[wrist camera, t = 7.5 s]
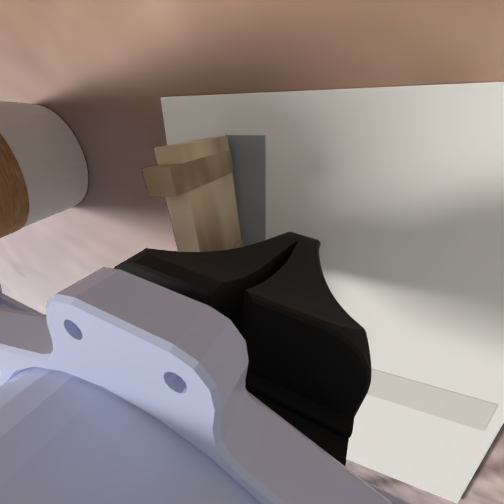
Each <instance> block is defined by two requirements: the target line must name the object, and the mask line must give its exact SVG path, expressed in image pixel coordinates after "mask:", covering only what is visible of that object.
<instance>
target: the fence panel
mask: <svg viewBox="0 0 504 504" xmlns="http://www.w3.org/2000/svg"><path fill="white" fill-rule="evenodd" d="M154 152H155V156H156V160H157V164H158V165H155V166H151V167H147V168H143V169H142V172H143V176H144V180H145V184H146V187H147V191H148V195H149V197H165V198H166V203H167V207H168V211H169V215H170V220H171V224H172V228H173V232H174V237H175V241H176V245H177V249H178V252H208V251H221V250H228V249H234V248H240V247H243V241H242V240H241V233H240V226H239V218H238V211H237V203H236V196H235V189H234V181H233V174H232V173H233V166H232V158H231V151H230V150H229V144H228V137H227V136H222V137H212V138H204V139H199V140H193V141H188V142H182V143H177V144H171V145H166V146H160V147H155V148H154Z"/></svg>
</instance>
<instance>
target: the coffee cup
mask: <svg viewBox="0 0 504 504" xmlns="http://www.w3.org/2000/svg"><path fill="white" fill-rule="evenodd" d="M87 188H88V170H87V164H86V160H85V157H84V154H83V151H82V149H81V147H80V144H79V142H78V140H77V139H76V137H75V135H74V134H73V132H72V131H71V129H70V128H69V127H68V125H67V124H66V123H65V122H64V121H63V120H62V119H61V118H60V117H59V116H58V115H57V114H56V113H54V112H53V111H52V110H50V109H48V108H46V107H43V106H41V105H36V104H28V103H17V102H4V101H0V238H1V237H4V236H6V235H8V234H11V233H13V232H15V231H17V230H19V229H21V228H22V227H25V226H27V225H30V224H32V223H34V222H37V221H39V220H42V219H44V218H47V217H49V216H52V215H54V214H56V213H59V212H61V211H64V210H66V209H69V208H71V207H73V206H75V205H77V204H78V203H80V202H81V201H82V199H83V198H84V197H85V195H86V192H87Z"/></svg>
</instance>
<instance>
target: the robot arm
mask: <svg viewBox="0 0 504 504" xmlns="http://www.w3.org/2000/svg"><path fill="white" fill-rule="evenodd" d="M320 244H321V243H320V241H319V240H317V239H313V238H310V237H307V236H303V235H300V234H297V233H293V232H287V233H284V234H281V235H278V236H276V237H273V238H270V239H267V240H265V241H262V242H258V243H255V244H251V245H248V246H244V247H240V248H234V249H228V250H221V251H208V252H177V251H166V250H156V249H148V248H146V249H144V250H143V251H141V252H139V253H138V254H136V255H134V256H132V257H131V258H129V259H127V260H126V261H124V262H122V263H121V264H119V265H117V266H115V268H114V269H113V268H105V267H103V268H101V269H99V270H98V271H96V272H94V273H92V274H91V275H89V276H87V277H85V278H83V279H82V280H80V281H78V282H76V283H75V284H73V285H71V286H69V287H68V288H66V289H64V290H62V291H60V292H59V293H57V294H56V295H54V296H53V297H52V298H51V299H50V300H49V301H47V305H46V315H44V314H41V313H39V312H37V311H36V310H34V309H32V308H30V307H28V306H26V305H24V304H22V303H20V302H18V301H16V300H14V299H12V298H10V297H8V296H6V295H5V294H3V293H2V289H1V285H0V504H409V503H408V502H406V501H404V500H402V499H400V498H398V497H396V496H394V495H392V494H390V493H388V492H386V491H384V490H382V489H380V488H378V487H377V486H375V485H373V484H371V483H369V482H367V481H365V480H363V479H361V478H359V477H358V476H357V475H356V474H354V473H353V472H352V471H350V470H349V469H348V468H346V467H345V464H346V457H347V449H348V441H349V438H350V437H351V435H352V431H353V424H354V417H355V415H356V413H357V412H358V410H359V408H360V406H361V404H362V402H363V400H364V398H365V397H366V395H367V393H368V390H369V387H370V383H371V374H372V371H371V357H370V349H369V343H368V338H367V333H366V330H365V329H364V328H363V327H362V326H361V325H360V324H359V323H357V322H356V321H355V320H354V319H353V318H352V317H351V316H350V315H349V314H348V313H347V312H346V311H345V310H344V309H343V308H342V307H341V305H340V304H339V303H338V302H337V300H336V299H335V297H334V296H333V294H332V293H331V291H330V289H329V287H328V285H327V283H326V280H325V278H324V275H323V271H322V268H321V263H320V257H319V248H320Z"/></svg>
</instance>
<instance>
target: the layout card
mask: <svg viewBox="0 0 504 504" xmlns="http://www.w3.org/2000/svg"><path fill="white" fill-rule="evenodd" d="M160 98H161V105H162V112H163V119H164V126H165V133H166V140H167V145H171V144H177V143H182V142H188V141H193V140H199V139H204V138H212V137H222V136H227V137H228V144H229V150H230V151H231V158H232V166H233V173H232V174H233V181H234V189H235V196H236V203H237V211H238V218H239V226H240V233H241V240H242V241H243V247H244V246H248V245H251V244H255V243H258V242H262V241H265V240H267V239H270V238H273V237H276V236H278V235H281V234H284V233H287V232H293V233H297V234H300V235H303V236H307V237H310V238H313V239H317V240H319V241H320V243H321V244H320V248H319V257H320V263H321V268H322V271H323V275H324V278H325V280H326V283H327V285H328V287H329V289H330V291H331V293H332V294H333V296H334V297H335V299H336V300H337V302H338V303H339V304H340V305H341V307H342V308H343V309H344V310H345V311H346V312H347V313H348V314H349V315H350V316H351V317H352V318H353V319H354V320H355V321H356V322H357V323H359V324H360V325H361V326H362V327H363V328H364V329H365V330H366V333H367V338H368V343H369V349H370V357H371V371H372V374H371V383H370V387H369V390H368V393H367V395H366V397H365V398H364V400H363V402H362V404H361V406H360V408H359V410H358V412H357V413H356V415H355V417H354V424H353V431H352V435H351V437H350V438H349V441H348V449H347V457H346V459H347V460H350V461H352V462H355V463H357V464H360V465H362V466H365V467H367V468H370V469H372V470H375V471H377V472H380V473H382V474H385V475H387V476H390V477H392V478H395V479H397V480H400V481H402V482H404V483H407V484H409V485H412V486H414V487H417V488H419V489H422V490H424V491H427V492H429V493H432V494H434V495H437V496H439V497H442V498H444V499H447V500H449V501H452V502H454V503H458V501H459V500H460V498H461V496H462V494H463V493H464V491H465V489H466V487H467V486H468V484H469V482H470V480H471V479H472V477H473V475H474V473H475V472H476V470H477V468H478V466H479V465H480V463H481V461H482V460H483V458H484V456H485V454H486V453H487V451H488V449H489V447H490V446H491V444H492V442H493V440H494V439H495V437H496V435H497V433H498V432H499V430H500V428H501V426H502V425H503V423H504V82H486V83H464V84H442V85H419V86H397V87H375V88H353V89H330V90H308V91H286V92H264V93H241V94H219V95H197V96H174V97H160Z"/></svg>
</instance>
